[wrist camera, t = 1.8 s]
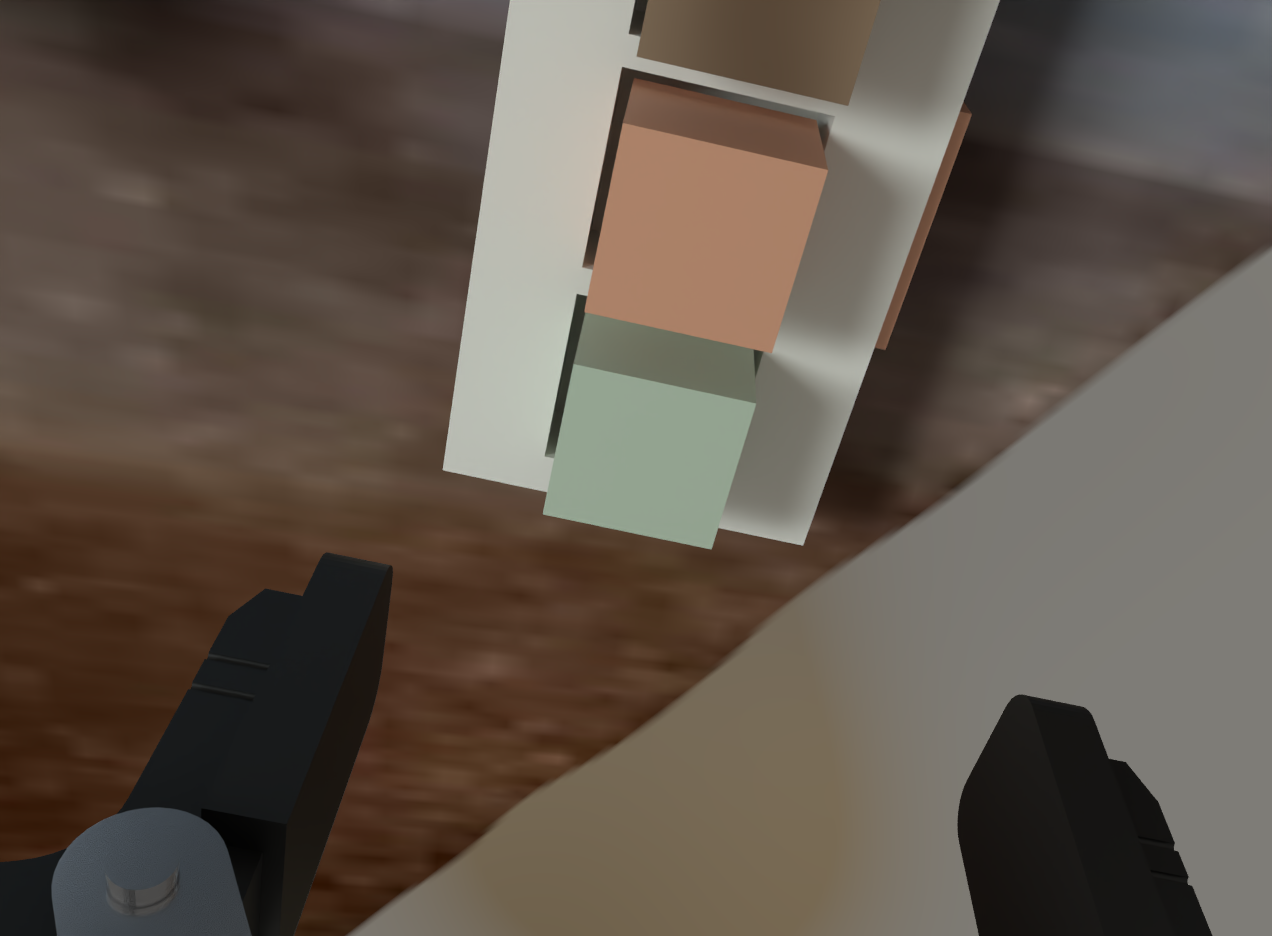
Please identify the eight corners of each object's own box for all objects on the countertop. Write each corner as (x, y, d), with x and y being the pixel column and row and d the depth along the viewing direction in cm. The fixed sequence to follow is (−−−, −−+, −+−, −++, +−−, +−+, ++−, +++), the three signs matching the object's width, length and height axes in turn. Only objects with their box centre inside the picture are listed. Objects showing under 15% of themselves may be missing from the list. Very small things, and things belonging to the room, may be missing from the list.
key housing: (466, 406, 34) (442, 470, 31) (575, -316, 25) (556, -321, 22) (808, 479, 35) (816, 548, 32) (1046, -198, 25) (1089, -187, 22)
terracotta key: (598, 250, 28) (583, 312, 25) (633, 77, 26) (622, 123, 23) (766, 288, 29) (771, 352, 26) (816, 119, 26) (828, 169, 23)
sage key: (559, 439, 31) (542, 514, 28) (588, 298, 29) (573, 364, 26) (712, 472, 31) (711, 549, 29) (752, 335, 29) (756, 403, 26)
